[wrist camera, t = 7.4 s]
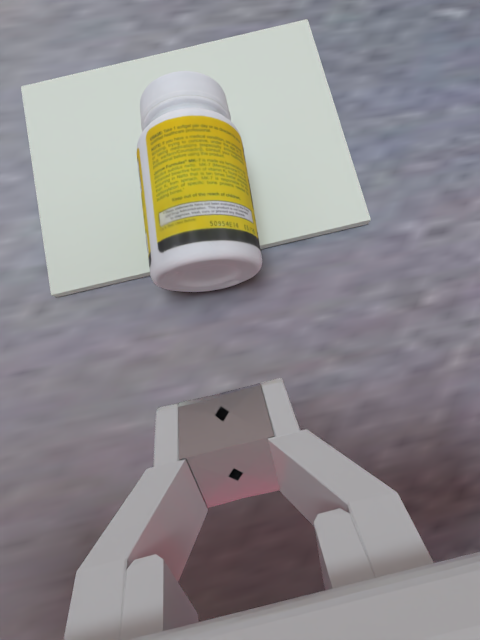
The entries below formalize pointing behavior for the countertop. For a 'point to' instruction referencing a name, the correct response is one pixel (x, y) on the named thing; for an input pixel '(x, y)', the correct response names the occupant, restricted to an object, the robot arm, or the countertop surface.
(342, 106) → the countertop surface
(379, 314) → the countertop surface
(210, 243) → the supplement bottle
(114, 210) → the rubber mat
